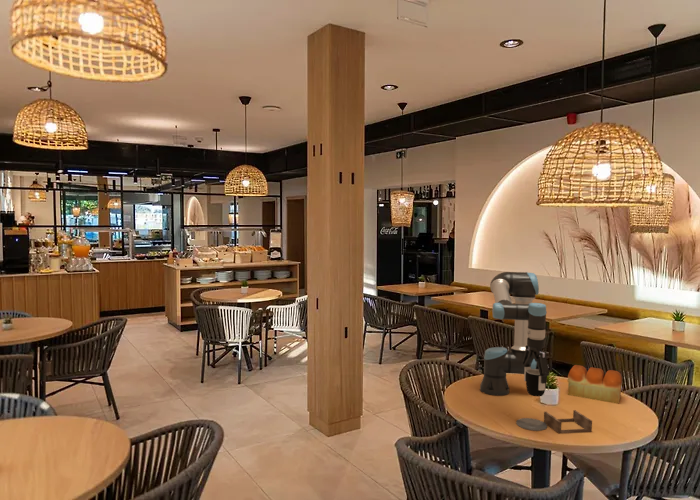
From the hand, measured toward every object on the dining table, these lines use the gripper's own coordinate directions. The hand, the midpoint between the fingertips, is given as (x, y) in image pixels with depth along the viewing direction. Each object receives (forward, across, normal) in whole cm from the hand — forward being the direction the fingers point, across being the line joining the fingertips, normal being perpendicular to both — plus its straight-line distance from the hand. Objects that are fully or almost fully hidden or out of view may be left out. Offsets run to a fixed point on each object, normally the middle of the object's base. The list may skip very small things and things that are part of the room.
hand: (534, 385), depth 233 cm
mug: (+4, 0, 0) cm, 4 cm away
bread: (+19, -32, +53) cm, 65 cm away
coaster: (+18, 0, -1) cm, 18 cm away
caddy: (+18, +4, +14) cm, 23 cm away
